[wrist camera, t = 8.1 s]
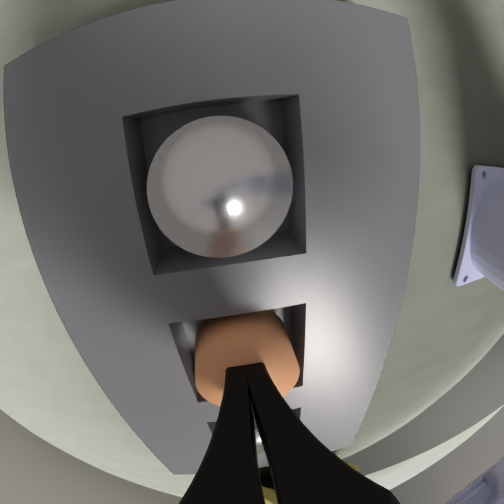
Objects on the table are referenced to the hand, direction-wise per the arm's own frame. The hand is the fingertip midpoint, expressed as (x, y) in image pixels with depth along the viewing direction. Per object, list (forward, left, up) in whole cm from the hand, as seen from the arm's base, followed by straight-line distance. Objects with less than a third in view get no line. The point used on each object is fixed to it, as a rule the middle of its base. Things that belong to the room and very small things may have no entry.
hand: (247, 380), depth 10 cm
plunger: (0, -7, -3) cm, 8 cm away
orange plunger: (0, 0, -2) cm, 2 cm away
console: (0, 0, -4) cm, 4 cm away
